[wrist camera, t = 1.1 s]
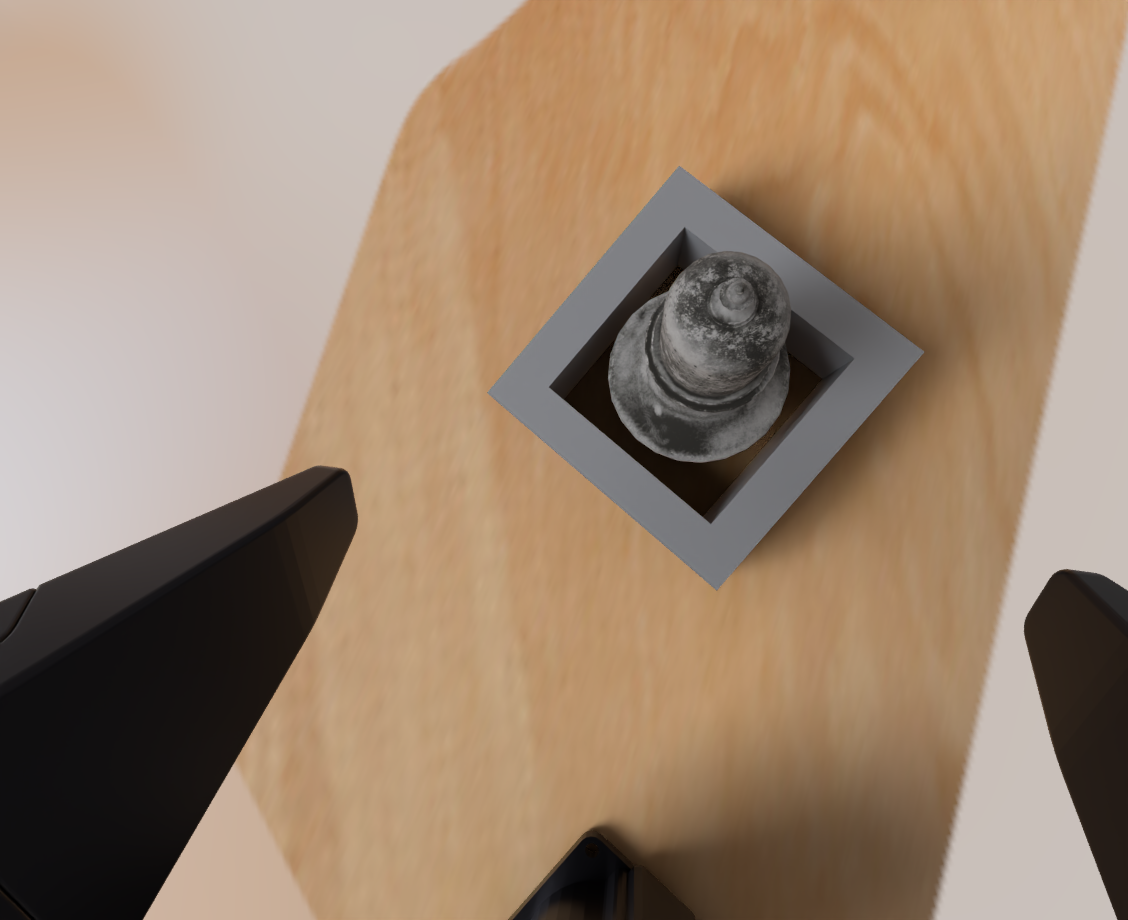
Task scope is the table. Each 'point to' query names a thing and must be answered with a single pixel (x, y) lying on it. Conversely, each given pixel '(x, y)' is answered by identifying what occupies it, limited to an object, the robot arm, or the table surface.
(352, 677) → the table surface
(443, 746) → the table surface
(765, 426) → the salt shaker
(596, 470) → the socket block
